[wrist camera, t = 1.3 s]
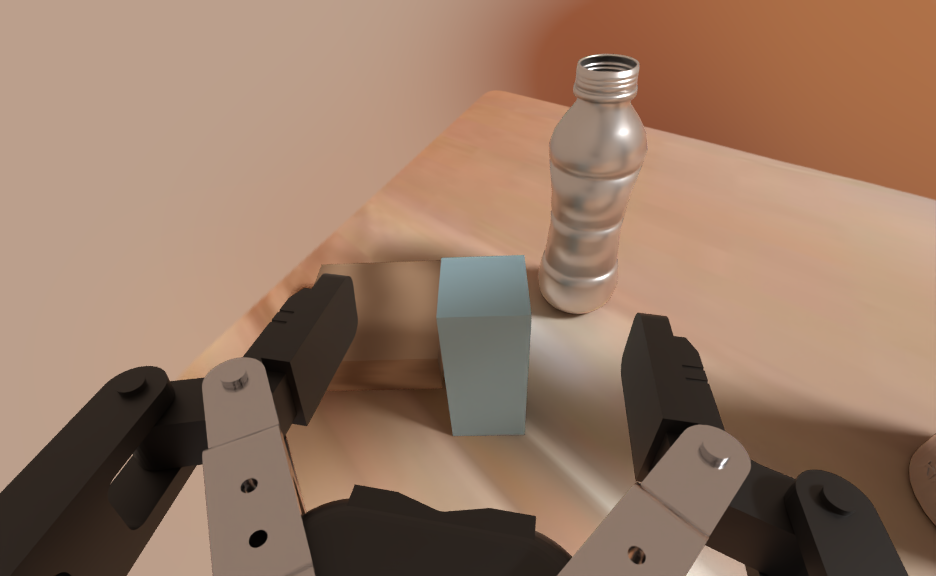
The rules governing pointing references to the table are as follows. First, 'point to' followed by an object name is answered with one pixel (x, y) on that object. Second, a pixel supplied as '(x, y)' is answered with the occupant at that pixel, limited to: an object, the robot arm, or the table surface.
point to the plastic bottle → (592, 184)
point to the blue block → (485, 343)
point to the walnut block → (392, 327)
